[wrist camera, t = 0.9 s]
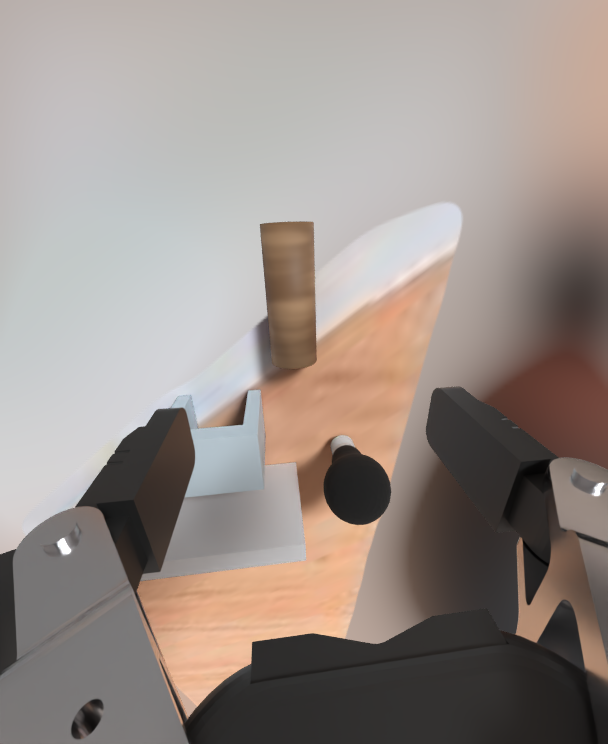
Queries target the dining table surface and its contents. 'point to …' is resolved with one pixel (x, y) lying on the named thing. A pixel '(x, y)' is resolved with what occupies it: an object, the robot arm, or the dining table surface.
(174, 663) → the dining table surface
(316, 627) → the dining table surface
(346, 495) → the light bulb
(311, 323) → the dowel
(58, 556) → the robot arm
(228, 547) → the base plate
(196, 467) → the sleeve block
